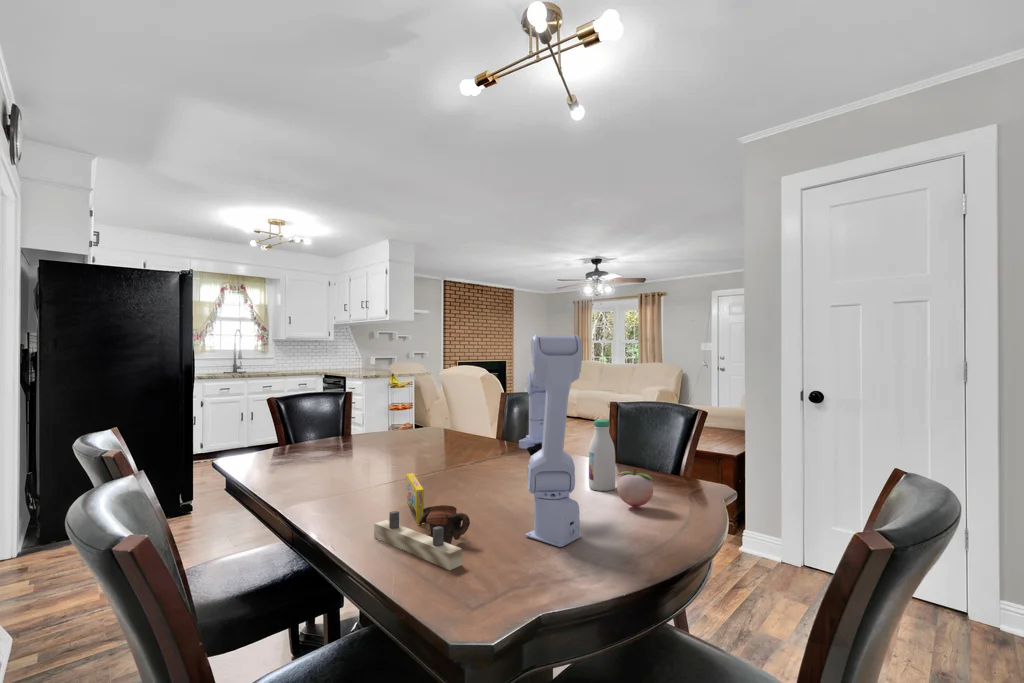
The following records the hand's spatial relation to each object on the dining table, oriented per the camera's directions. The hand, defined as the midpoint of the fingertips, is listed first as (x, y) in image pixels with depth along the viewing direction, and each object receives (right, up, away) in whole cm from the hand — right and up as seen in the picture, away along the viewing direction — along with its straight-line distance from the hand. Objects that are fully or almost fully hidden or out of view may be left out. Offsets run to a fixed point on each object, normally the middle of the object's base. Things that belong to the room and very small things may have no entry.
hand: (540, 473), depth 121 cm
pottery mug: (-21, -9, -19) cm, 30 cm away
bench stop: (-26, -9, -25) cm, 37 cm away
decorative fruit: (+25, -10, +2) cm, 27 cm away
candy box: (-31, -10, -3) cm, 33 cm away
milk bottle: (+20, -10, +21) cm, 31 cm away
